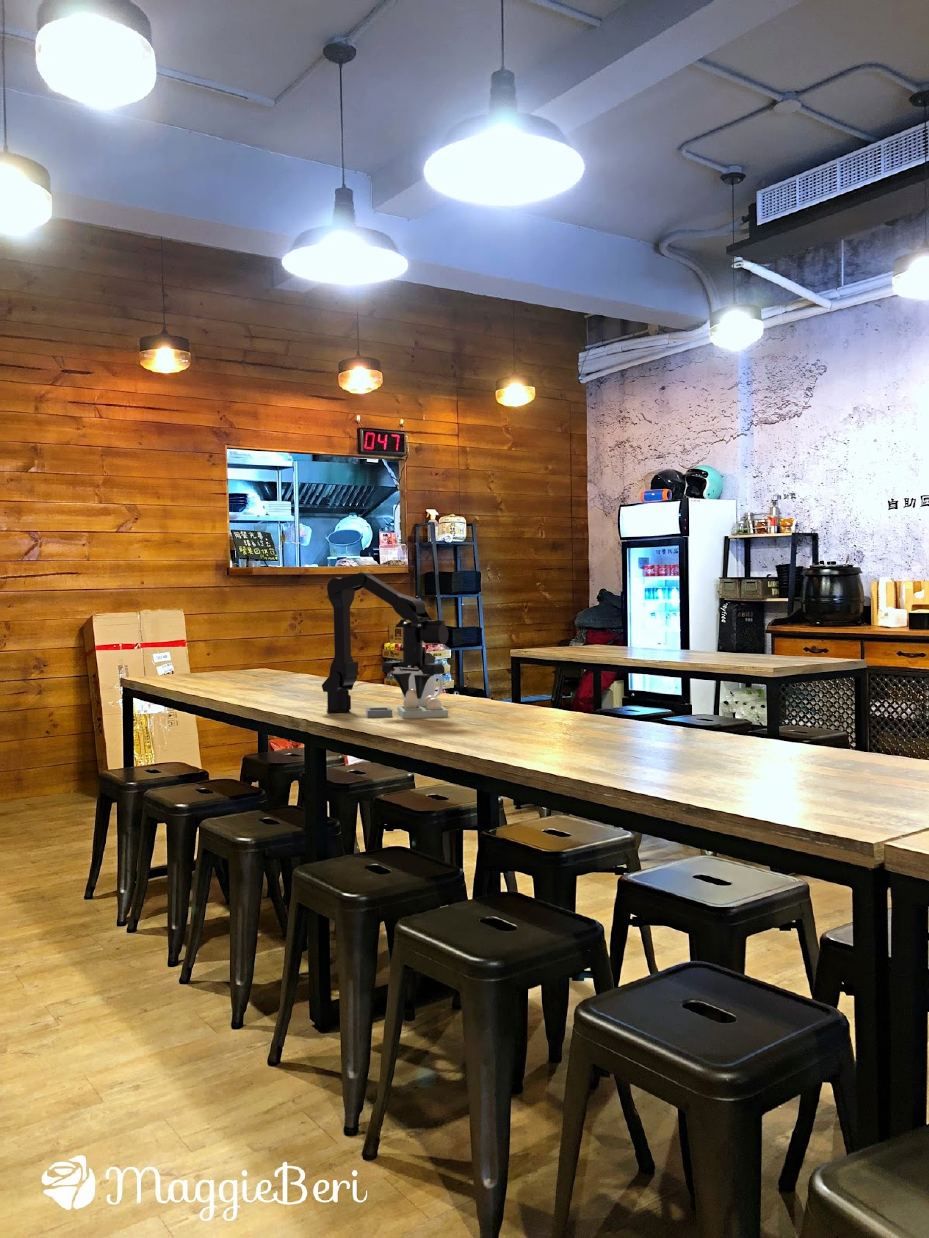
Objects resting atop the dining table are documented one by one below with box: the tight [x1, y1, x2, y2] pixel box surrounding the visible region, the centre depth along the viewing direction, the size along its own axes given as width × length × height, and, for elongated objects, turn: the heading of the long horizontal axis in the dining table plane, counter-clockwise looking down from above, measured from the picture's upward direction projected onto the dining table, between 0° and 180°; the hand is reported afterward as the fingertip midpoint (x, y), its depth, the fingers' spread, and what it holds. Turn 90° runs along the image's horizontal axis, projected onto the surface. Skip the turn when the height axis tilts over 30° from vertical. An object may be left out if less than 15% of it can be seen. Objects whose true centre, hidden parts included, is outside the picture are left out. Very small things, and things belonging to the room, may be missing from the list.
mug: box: [400, 666, 444, 706], centre depth 295 cm, size 15×11×13 cm
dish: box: [365, 706, 393, 718], centre depth 273 cm, size 7×7×2 cm
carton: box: [396, 695, 449, 719], centre depth 275 cm, size 13×13×5 cm
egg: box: [406, 689, 419, 703], centre depth 271 cm, size 4×4×4 cm
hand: (412, 698), depth 271 cm, fingers closed on egg, 4 cm apart
